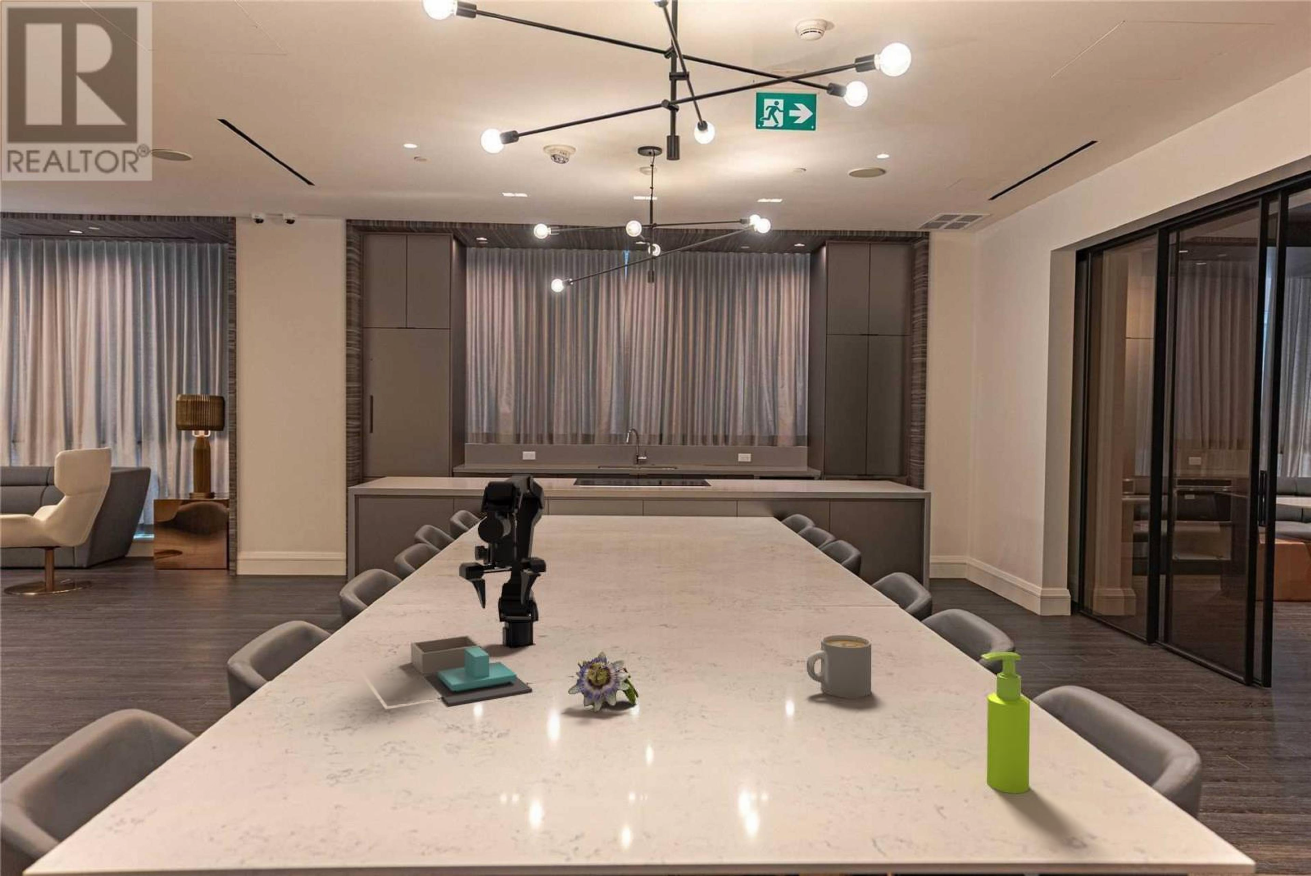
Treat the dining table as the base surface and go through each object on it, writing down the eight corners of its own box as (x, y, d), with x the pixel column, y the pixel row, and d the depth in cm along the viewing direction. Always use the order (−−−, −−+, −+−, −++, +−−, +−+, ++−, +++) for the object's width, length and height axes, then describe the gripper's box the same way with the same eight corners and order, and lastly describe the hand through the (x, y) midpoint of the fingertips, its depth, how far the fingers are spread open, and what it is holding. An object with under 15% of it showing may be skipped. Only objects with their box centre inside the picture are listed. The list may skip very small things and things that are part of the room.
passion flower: (598, 739, 159) (560, 692, 157) (599, 708, 170) (564, 664, 167) (646, 707, 158) (610, 659, 156) (645, 679, 168) (611, 633, 166)
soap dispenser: (973, 777, 129) (974, 648, 129) (1016, 775, 130) (1017, 647, 129) (991, 794, 124) (993, 659, 123) (1036, 792, 124) (1038, 658, 124)
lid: (499, 670, 182) (499, 641, 181) (516, 684, 172) (516, 653, 172) (438, 680, 175) (437, 650, 175) (452, 694, 166) (451, 662, 166)
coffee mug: (862, 681, 176) (862, 634, 176) (877, 697, 166) (878, 647, 166) (799, 682, 175) (799, 635, 175) (811, 698, 165) (811, 648, 165)
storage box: (468, 656, 194) (467, 635, 194) (481, 668, 185) (481, 645, 185) (411, 665, 188) (410, 642, 188) (422, 677, 179) (422, 654, 179)
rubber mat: (501, 667, 186) (501, 664, 186) (532, 691, 170) (532, 688, 170) (424, 679, 178) (424, 676, 178) (448, 706, 161) (448, 703, 161)
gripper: (529, 529, 200) (529, 595, 200) (451, 535, 191) (452, 603, 191) (547, 535, 190) (547, 604, 191) (466, 541, 181) (466, 613, 181)
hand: (503, 606), depth 189 cm, fingers open, 9 cm apart
